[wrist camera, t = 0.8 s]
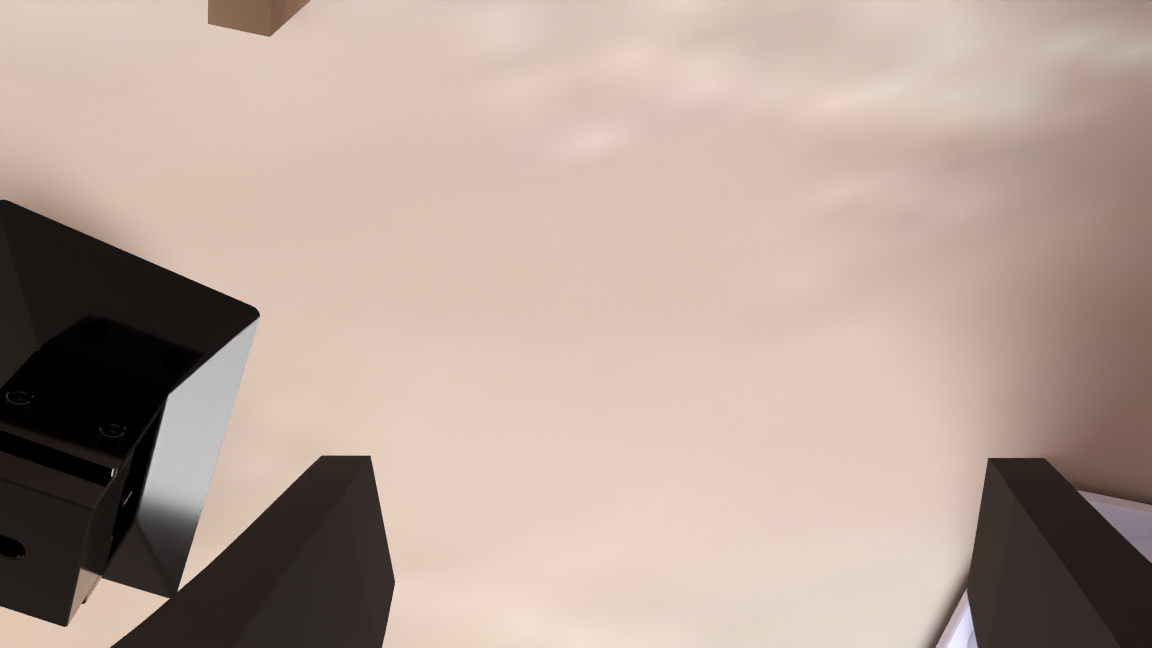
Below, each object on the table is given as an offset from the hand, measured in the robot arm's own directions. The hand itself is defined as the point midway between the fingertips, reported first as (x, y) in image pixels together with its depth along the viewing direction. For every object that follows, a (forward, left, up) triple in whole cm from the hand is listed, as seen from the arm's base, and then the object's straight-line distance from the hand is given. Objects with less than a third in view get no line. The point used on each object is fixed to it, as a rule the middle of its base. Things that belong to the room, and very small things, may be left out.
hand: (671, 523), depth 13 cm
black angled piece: (+12, +9, -10) cm, 18 cm away
